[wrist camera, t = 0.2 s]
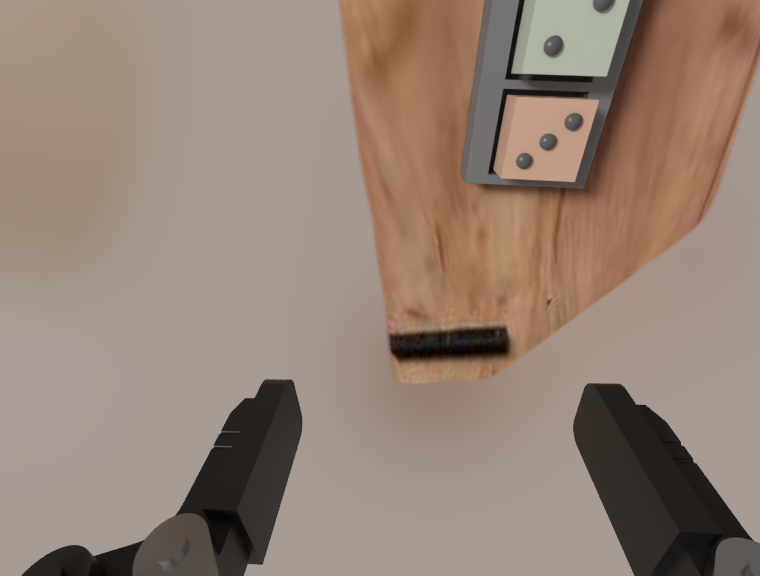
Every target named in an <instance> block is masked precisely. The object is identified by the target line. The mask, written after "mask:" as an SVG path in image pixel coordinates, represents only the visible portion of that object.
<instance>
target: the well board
mask: <svg viewBox="0 0 760 576" xmlns="http://www.w3.org/2000/svg"><path fill="white" fill-rule="evenodd" d="M524 1H525V0H485V1H484V8H483V15H482V23H481V30H480V37H479V44H478V51H477V58H476V65H475V72H474V79H473V86H472V94H471V101H470V108H469V115H468V122H467V129H466V136H465V143H464V150H463V157H462V165H461V172H460V174H461V176H462V178H463V180H464V182H465V183H478V184H498V185H518V186H538V187H559V188H579V189H584V186H585V183H586V180H587V176H588V173H589V170H590V167H591V164H592V161H593V158H594V154H595V151H596V148H597V145H598V142H599V139H600V136H601V132H602V129H603V126H604V123H605V120H606V117H607V113H608V110H609V107H610V104H611V101H612V98H613V95H614V91H615V88H616V85H617V82H618V79H619V76H620V72H621V69H622V66H623V63H624V60H625V57H626V54H627V50H628V47H629V44H630V41H631V38H632V35H633V32H634V28H635V25H636V22H637V19H638V16H639V13H640V9H641V6H642V3H643V0H630V1H629V4H628V7H627V11H626V14H625V17H624V21H623V24H622V27H621V31H620V34H619V37H618V40H617V44H616V47H615V50H614V54H613V57H612V60H611V64H610V67H609V70H608V74H607V77H602V76H568V75H540V74H512V73H511V71H512V66H513V61H514V55H515V50H516V44H517V39H518V34H519V28H520V23H521V17H522V12H523V7H524ZM507 95H529V96H555V97H581V98H589V99H596V100H599V103H598V107H597V110H596V113H595V117H594V120H593V123H592V127H591V130H590V133H589V136H588V140H587V143H586V146H585V150H584V153H583V156H582V160H581V163H580V166H579V170H578V173H577V176H576V180H575V182H564V181H544V180H523V179H503V178H500V177H499V176H498V174H497V173H496V172H495V171H494V170H493V168H494V163H495V158H496V152H497V147H498V142H499V136H500V131H501V125H502V120H503V115H504V109H505V104H506V98H507Z"/></svg>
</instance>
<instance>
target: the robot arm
mask: <svg viewBox="0 0 760 576" xmlns="http://www.w3.org/2000/svg"><path fill="white" fill-rule="evenodd" d="M573 431H574V438H575V441H576V444H577V447H578V449H579V451H580V454H581V456H582V458H583V460H584V463H585V465H586V467H587V470H588V472H589V474H590V476H591V479H592V481H593V483H594V485H595V488H596V490H597V492H598V494H599V497H600V499H601V501H602V503H603V506H604V508H605V510H606V512H607V514H608V517H609V519H610V521H611V524H612V526H613V528H614V530H615V533H616V535H617V537H618V539H619V542H620V544H621V546H622V549H623V551H624V553H625V555H626V557H627V560H628V562H629V564H630V567H631V569H632V571H633V573H634V575H635V576H760V543H757V542H755V541H754V540H752V538H750V536H749V535H748V534H747V532H746V531H745V530H744V528H743V527H742V526H741V524H740V523H739V521H738V520H737V519H736V517H735V516H734V515H733V513H732V512H731V510H730V509H729V508H728V507H727V505H726V504H725V502H724V501H723V499H722V498H721V497H720V495H719V494H718V493H717V491H716V490H715V488H714V487H713V486H712V484H711V483H710V482H709V480H708V479H707V477H706V476H705V475H704V473H703V472H702V471H701V469H700V468H699V466H698V465H697V464H696V463H694V462H693V458H692V457H691V455H690V454H689V453H688V452H687V450H686V449H685V447H684V446H681V442H680V440H679V439H678V437H677V436H676V435H675V433H674V432H673V431H672V429H671V428H670V426H669V425H668V424H667V422H666V421H664V420H663V419H662V418H661V417H659V416H658V415H657V414H656V413H655V412H653V411H652V410H651V409H650V408H648V407H647V406H646V405H636V404H635V402H634V401H633V399H632V398H631V396H630V395H629V393H628V392H627V390H626V389H625V388H624V387H623V386H622V385H621V384H587V385H586V386H585V388H584V391H583V394H582V397H581V400H580V403H579V407H578V410H577V413H576V416H575V419H574V425H573ZM301 432H302V415H301V410H300V406H299V402H298V398H297V394H296V390H295V386H294V382H293V381H292V380H270V379H269V380H267V379H266V380H264V381H263V383H262V384H261V386H260V388H259V391H258V393H257V395H256V397H255V398H245V399H244V400H243V401H242V402H241V403H240V404H239V405H238V406H237V407H236V408H235V409H234V410H233V411H232V412H231V413H230V415H229V417H228V419H227V421H226V423H225V424H224V427H223V428H222V432H221V434H219V436H218V438H217V440H216V442H215V444H214V448H213V449H211V451H210V453H209V455H208V457H207V459H206V461H205V463H204V465H203V467H202V468H201V471H200V472H199V474H198V476H197V478H196V480H195V482H194V484H193V486H192V488H191V490H190V491H189V494H188V495H187V497H186V499H185V501H184V503H183V505H182V506H181V508H180V510H179V511H178V513H177V514H176V515H175V516H174V517H171V518H169V519H168V520H166V521H164V522H163V523H161V524H160V525H159V526H157V528H155V529H154V530H153V531H152V532H151V533H150V534H149V535H148V537H147V538H146V539H145V540H143V541H141V542H138V543H135V544H132V545H129V546H126V547H122V548H119V549H116V550H112V551H109V552H106V553H102V554H99V555H96V556H93V555H92V554H91V553H90V552H89V551H88V550H87V549H86V548H84V547H82V546H78V545H71V546H66V547H62V548H59V549H57V550H55V551H53V552H51V553H49V554H47V555H46V556H44V557H43V558H41V559H40V560H38V561H37V562H36V563H34V564H33V565H32V566H31V567H30V568H29V569H28V570H26V571H25V572H24V574H23V575H22V576H244V573H245V570H246V567H247V564H260V565H262V564H263V561H264V558H265V555H266V551H267V548H268V544H269V541H270V538H271V535H272V531H273V528H274V525H275V521H276V518H277V514H278V511H279V508H280V504H281V501H282V498H283V494H284V491H285V487H286V484H287V481H288V478H289V474H290V471H291V467H292V464H293V460H294V457H295V454H296V451H297V447H298V444H299V440H300V437H301Z"/></svg>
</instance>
